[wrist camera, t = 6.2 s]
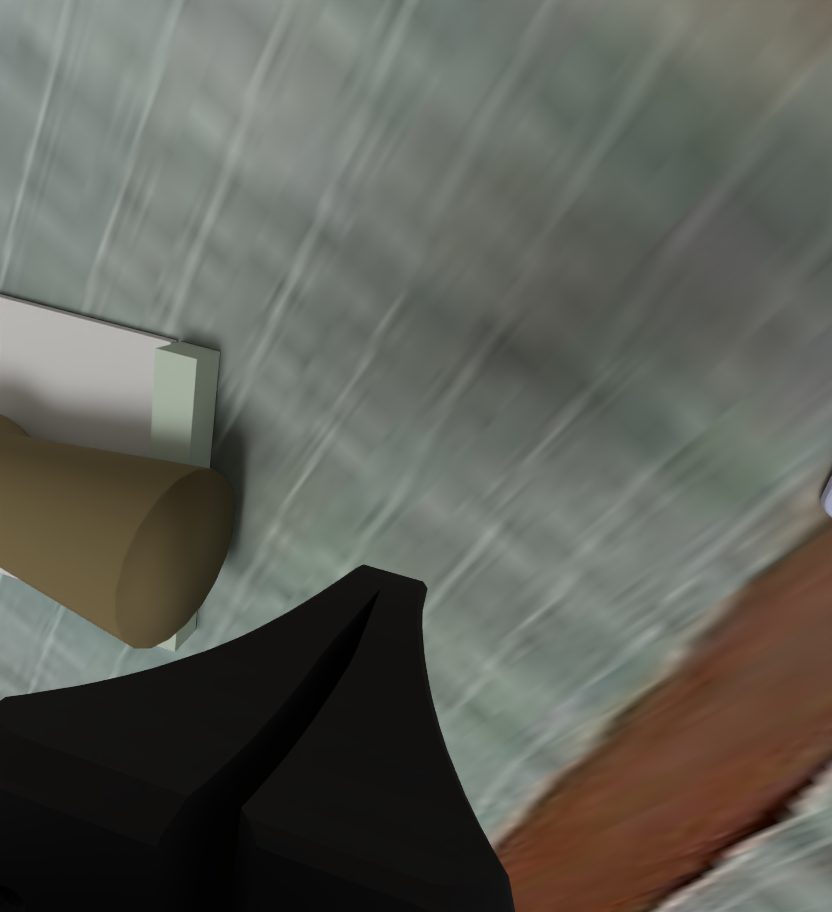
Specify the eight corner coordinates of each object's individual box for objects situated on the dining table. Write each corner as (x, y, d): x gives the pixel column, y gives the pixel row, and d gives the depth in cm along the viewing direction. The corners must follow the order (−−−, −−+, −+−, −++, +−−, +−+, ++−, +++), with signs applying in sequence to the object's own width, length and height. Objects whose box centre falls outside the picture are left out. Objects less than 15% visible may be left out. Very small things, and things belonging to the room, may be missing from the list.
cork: (78, 630, 16) (-225, 507, 18) (176, 661, 22) (-68, 563, 24) (189, 435, 19) (-93, 347, 21) (252, 507, 24) (23, 431, 26)
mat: (177, 340, 22) (170, 342, 21) (159, 618, 26) (154, 623, 26) (-111, 264, 23) (-122, 265, 23) (-83, 539, 28) (-91, 543, 27)
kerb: (219, 351, 22) (196, 359, 20) (195, 630, 26) (174, 652, 24) (181, 341, 22) (155, 348, 20) (162, 619, 26) (141, 640, 25)
